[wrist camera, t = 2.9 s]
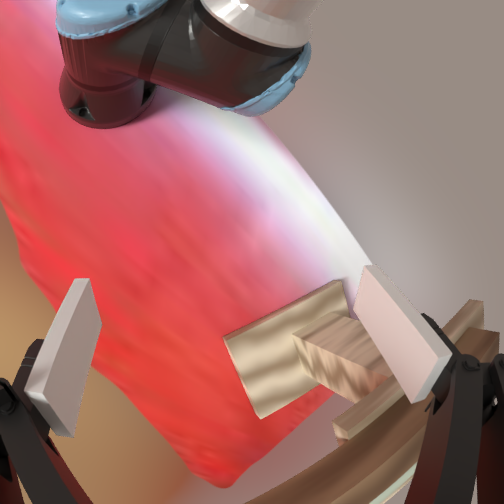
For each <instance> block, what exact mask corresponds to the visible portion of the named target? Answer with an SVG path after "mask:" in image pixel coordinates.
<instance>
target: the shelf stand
mask: <svg viewBox="0 0 504 504" xmlns="http://www.w3.org/2000/svg"><path fill="white" fill-rule="evenodd" d="M468 327H472V328H478V329H483V330H484V308H483V301H478V300H468V302H467V303H466V304H465V305H464V306H463V307H462V308H461V309H460V310H459V312H458V313H457V314H456V315H455V316H454V317H453V318H452V319H451V320H450V321H449V322H448V323H447V324H446V325H445V326H444V327H443V328H442V329H441V330H442V331H443V332H444V334H446V336H447V337H448V338H449V339H450V340H451V342H452V343H453V344H455V343H456V341H457V340H458V339H459V338H460V337H461V336H462V335H463V333H464V332H465V331H466V330H467V329H468ZM223 340H224V342H225V345H226V347H227V349H228V352H229V354H230V357H231V359H232V361H233V364H234V366H235V368H236V371H237V373H238V375H239V378H240V380H241V382H242V384H243V387H244V389H245V391H246V394H247V396H248V398H249V400H250V402H251V405H252V407H253V409H254V411H255V413H256V415H257V416H258V417H259V418H260V419H262V418H264V417H266V416H268V415H270V414H271V413H273V412H275V411H277V410H278V409H280V408H282V407H283V406H285V405H287V404H289V403H290V402H292V401H294V400H295V399H297V398H299V397H300V396H302V395H303V394H305V393H307V392H308V391H310V390H311V389H313V388H315V387H316V386H318V385H319V384H322V385H324V386H326V387H327V388H329V389H331V390H332V391H334V392H336V393H337V394H339V395H341V396H343V397H344V398H346V399H348V400H350V401H351V402H353V403H355V405H354V406H352V407H351V408H349V409H348V410H347V411H346V412H344V413H343V414H341V415H340V416H338V417H337V418H335V419H334V420H333V421H332V424H333V427H334V431H335V435H336V438H337V442H338V445H339V447H340V446H341V445H343V444H344V443H345V442H347V441H348V440H349V439H351V438H352V437H353V436H355V435H356V434H357V433H359V432H360V431H361V430H363V429H364V428H365V427H366V426H368V425H369V424H370V423H371V422H373V421H374V420H375V419H376V418H378V417H379V416H380V415H381V414H382V413H384V412H385V411H386V410H387V409H388V408H389V407H391V406H392V405H393V404H394V403H395V402H396V401H397V400H399V399H400V398H401V397H402V396H403V395H404V394H405V392H404V391H403V389H402V387H401V386H400V384H399V382H398V381H397V379H396V377H395V376H394V374H393V372H392V371H391V369H390V367H389V366H388V364H387V362H386V361H385V359H384V358H383V356H382V354H381V353H380V351H379V350H378V348H377V346H376V345H375V343H374V342H373V340H372V338H371V337H370V335H369V334H368V332H367V331H366V329H365V327H364V326H363V324H362V323H361V321H359V320H355V319H352V318H350V314H349V310H348V306H347V302H346V298H345V294H344V290H343V286H342V283H341V281H337V280H333V281H331V282H330V283H328V284H326V285H324V286H322V287H320V288H318V289H317V290H315V291H313V292H311V293H309V294H307V295H305V296H303V297H302V298H300V299H298V300H296V301H294V302H292V303H290V304H288V305H286V306H284V307H282V308H280V309H278V310H276V311H274V312H272V313H270V314H268V315H266V316H264V317H262V318H260V319H258V320H256V321H254V322H252V323H250V324H248V325H246V326H244V327H242V328H240V329H238V330H236V331H234V332H232V333H230V334H228V335H225V336H223ZM417 462H418V461H417ZM417 462H416V463H415V464H414V465H413V466H412V467H411V468H410V469H409V470H408V471H407V472H406V473H405V474H404V475H402V476H401V477H400V478H399V479H398V480H397V481H396V482H395V483H393V484H392V485H391V486H390V487H389V488H388V489H386V490H385V491H384V492H383V493H382V494H380V495H379V496H378V497H377V498H375V499H374V500H373V501H372V502H370V503H369V504H384V503H385V502H386V501H387V500H389V499H390V498H391V497H392V496H393V495H394V494H396V493H397V492H398V491H399V490H400V489H401V488H402V487H404V486H405V485H406V484H407V483H408V482H409V481H410V480H411V479H412V478H413V475H414V472H415V469H416V465H417Z"/></svg>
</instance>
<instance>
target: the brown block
mask: <svg viewBox="0 0 504 504" xmlns="http://www.w3.org/2000/svg"><path fill="white" fill-rule="evenodd" d="M499 334H500V333H499V332H493V331H488V330H483V329H478V328H472V327H468V329H467V330H466V331H465V332H464V333H463V335H462V336H461V337H460V338H459V339H458V340H457V341H456V343H455V344H454V345H455V347H456V348H457V349H458V350H459V351H460V353H461V354H470V355H472V356H474V357H476V358H477V359H478V360H479V361H480V363H488V362H492V360H493V358H494V357H495V355H497V354H499ZM433 397H434V394H433V392H432V391H430V392H429V394H428V395H427V397H426V398H425V399H424V400H421V401H418V402H415V403H413V404H411V403H410V401H409V399H408V397H407V396H406V394H404V395H403V396H402V397H401V398H400V399H399V400H397V401H396V402H395V403H394V404H393V405H392V406H391V407H389V408H388V409H387V410H386V411H385V412H384V413H382V414H381V415H380V416H379V417H378V418H376V419H375V420H374V421H373V422H371V423H370V424H369V425H368V426H366V427H365V428H364V429H363V430H361V431H360V432H359V433H357V434H356V435H355V436H353V437H352V438H351V439H349V440H348V441H347V442H345V443H344V444H343V445H341V446H340V447H338V448H337V449H336V450H334V451H333V452H331V453H330V454H328V455H327V456H326V457H324V458H323V459H321V460H319V461H318V462H316V463H315V464H313V465H312V466H310V467H309V468H307V469H305V470H304V471H302V472H301V473H299V474H297V475H296V476H294V477H293V478H291V479H289V480H287V481H286V482H284V483H282V484H280V485H279V486H277V487H275V488H273V489H271V490H270V491H268V492H266V493H264V494H262V495H260V496H258V497H256V498H255V499H253V500H250V501H249V502H246V503H244V504H369V503H370V502H372V501H373V500H374V499H375V498H377V497H378V496H379V495H380V494H382V493H383V492H384V491H385V490H386V489H388V488H389V487H390V486H391V485H392V484H393V483H395V482H396V481H397V480H398V479H399V478H400V477H401V476H402V475H404V474H405V473H406V472H407V471H408V470H409V469H410V468H411V467H412V466H413V465H414V464H415V463H416V462H417V461H418V458H419V454H420V451H421V447H422V443H423V439H424V434H425V430H426V425H427V421H428V416H429V411H430V408H429V409H428V410H427V412H424V411H425V408H426V407H427V405H428V404H429V402H430V401H431V400H432V398H433Z"/></svg>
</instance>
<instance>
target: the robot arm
mask: <svg viewBox="0 0 504 504" xmlns="http://www.w3.org/2000/svg"><path fill="white" fill-rule="evenodd" d="M323 1H324V0H57V4H56V16H57V18H56V27H57V30H58V35H59V40H60V45H61V49H62V54H63V58H64V62H65V66H64V69H63V72H62V75H61V78H60V85H59V91H60V97H61V100H62V103H63V106H64V108H65V110H66V112H67V113H68V115H69V116H70V117H71V118H72V119H74V120H75V121H76V122H78V123H80V124H82V125H84V126H87V127H91V128H97V129H106V128H113V127H117V126H121V125H123V124H126V123H128V122H130V121H132V120H133V119H135V118H136V117H138V116H139V115H140V114H141V113H142V112H143V111H144V110H145V109H146V108H147V107H148V106H149V104H150V103H151V101H152V99H153V97H154V94H155V91H156V88H157V85H160V86H163V87H166V88H168V89H171V90H174V91H177V92H180V93H182V94H185V95H188V96H190V97H193V98H196V99H198V100H201V101H203V102H206V103H208V104H211V105H213V106H216V107H217V108H220V109H222V110H226V111H232V112H235V113H238V114H241V115H244V116H249V117H251V116H259V115H261V114H264V113H266V112H268V111H270V110H271V109H273V108H274V107H275V106H277V105H278V104H279V103H280V102H281V101H282V100H284V99H285V98H286V96H287V95H288V94H289V93H290V92H291V91H292V90H293V88H294V87H295V82H296V81H297V80H298V79H300V78H301V77H302V75H303V74H304V72H305V70H306V68H307V66H308V64H309V61H310V57H311V45H310V43H309V39H310V38H311V36H312V28H311V23H310V19H309V16H310V15H311V14H312V13H313V12H314V10H315V9H316V8H317V7H318V6H319V5H320V4H321V3H322V2H323ZM353 310H354V312H355V313H356V315H357V317H358V318H359V320H360V321H361V323H362V324H363V326H364V327H365V329H366V331H367V332H368V334H369V335H370V337H371V338H372V340H373V342H374V343H375V345H376V346H377V348H378V350H379V351H380V353H381V354H382V356H383V358H384V359H385V361H386V362H387V364H388V366H389V367H390V369H391V371H392V372H393V374H394V376H395V377H396V379H397V381H398V382H399V384H400V386H401V387H402V389H403V391H404V392H405V394H406V396H407V397H408V399H409V401H410V403H411V404H413V403H415V402H418V401H421V400H424V399H425V398H426V397H427V395H428V394H429V392H430V391H432V392H433V394H434V397H433V398H432V400H431V401H430V402H429V404H428V405H427V407H426V408H425V411H424V412H427V410H428V409H429V408H430V411H429V416H428V421H427V425H426V430H425V434H424V439H423V443H422V447H421V451H420V454H419V458H418V462H417V465H416V469H415V472H414V475H413V479H412V482H411V485H410V488H409V491H408V494H407V497H406V500H405V503H404V504H471V501H472V495H473V491H474V485H475V479H476V476H477V499H478V504H504V354H497V355H495V357H494V358H493V360H492V362H488V363H480V361H479V360H478V359H477V358H476V357H474V356H472V355H470V354H461V353H460V351H459V350H458V349H457V348H456V347H455V345H454V344H453V343H452V342H451V340H450V339H449V338H448V337H447V336H446V334H444V332H443V331H442V330H441V328H439V326H438V325H437V324H436V322H435V321H434V320H433V319H432V318H430V317H429V316H427V315H426V314H424V313H423V314H420V313H419V312H418V311H417V309H416V308H415V307H414V306H413V305H412V304H411V303H410V301H409V300H408V299H407V298H406V297H405V296H404V295H403V293H402V292H401V291H400V290H399V289H398V288H397V287H396V285H395V284H394V283H393V282H392V281H391V280H390V279H389V278H388V276H387V275H386V274H385V273H384V272H383V271H382V270H381V269H380V268H379V267H378V266H377V265H366V266H364V268H363V273H362V277H361V281H360V285H359V289H358V293H357V297H356V301H355V304H354V308H353ZM101 327H102V322H101V319H100V315H99V312H98V309H97V305H96V301H95V298H94V294H93V290H92V287H91V283H90V279H89V278H80V279H75V280H74V281H73V283H72V285H71V287H70V289H69V291H68V293H67V295H66V297H65V298H64V300H63V302H62V304H61V306H60V308H59V310H58V312H57V314H56V316H55V319H54V321H53V323H52V325H51V327H50V329H49V331H48V334H47V336H46V338H45V339H36V340H35V341H34V342H33V343H32V344H31V346H30V347H29V348H28V350H27V352H26V354H25V359H23V361H22V363H21V367H20V368H19V370H18V373H17V375H16V377H15V380H14V382H13V385H12V386H11V385H10V383H9V382H8V380H6V379H4V378H0V504H24V501H23V497H22V493H21V489H20V486H19V481H18V477H19V478H20V481H21V483H22V484H23V487H24V489H25V491H26V492H27V494H28V496H29V498H30V500H31V502H32V503H33V504H93V503H92V501H91V500H90V499H89V497H88V496H87V495H86V493H85V492H84V490H83V489H82V488H81V486H80V485H79V483H78V482H77V480H76V479H75V477H74V476H73V474H72V473H71V471H70V470H69V468H68V467H67V465H66V463H65V462H64V460H63V458H62V457H61V455H60V453H59V452H58V450H57V448H56V447H55V445H54V443H53V442H52V440H51V438H50V437H49V436H48V434H49V430H50V428H51V429H52V430H53V431H54V433H55V434H56V435H59V436H65V437H72V438H74V433H75V428H76V423H77V418H78V414H79V409H80V405H81V401H82V396H83V392H84V388H85V383H86V380H87V376H88V372H89V369H90V365H91V361H92V358H93V354H94V350H95V347H96V344H97V340H98V337H99V333H100V330H101ZM495 398H497V401H498V403H497V405H495V403H494V399H495ZM16 472H17V473H16ZM17 474H18V477H17Z"/></svg>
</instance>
